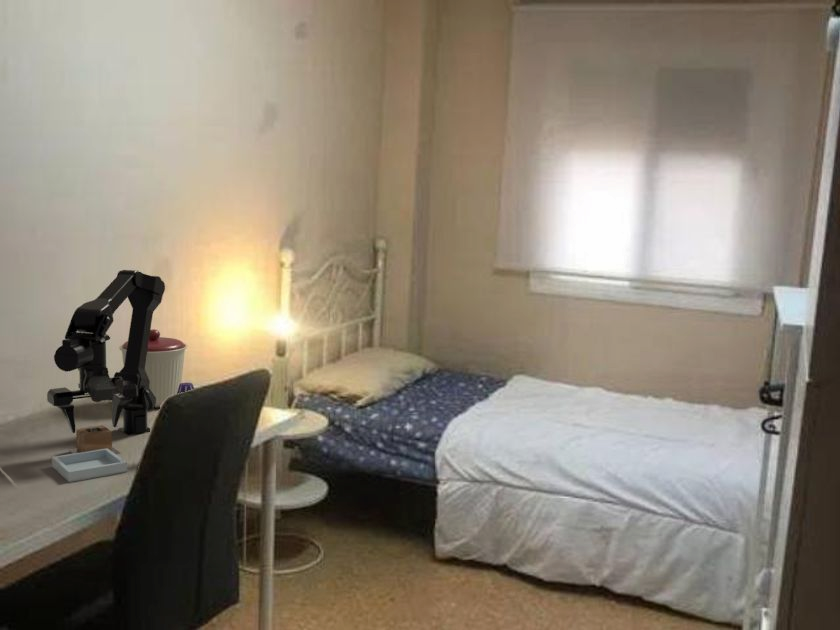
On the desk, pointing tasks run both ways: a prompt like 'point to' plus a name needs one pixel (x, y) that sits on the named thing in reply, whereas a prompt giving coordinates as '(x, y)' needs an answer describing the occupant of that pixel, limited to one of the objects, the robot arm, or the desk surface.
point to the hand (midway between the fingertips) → (94, 429)
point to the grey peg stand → (93, 429)
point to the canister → (162, 364)
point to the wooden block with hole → (93, 439)
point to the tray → (89, 464)
